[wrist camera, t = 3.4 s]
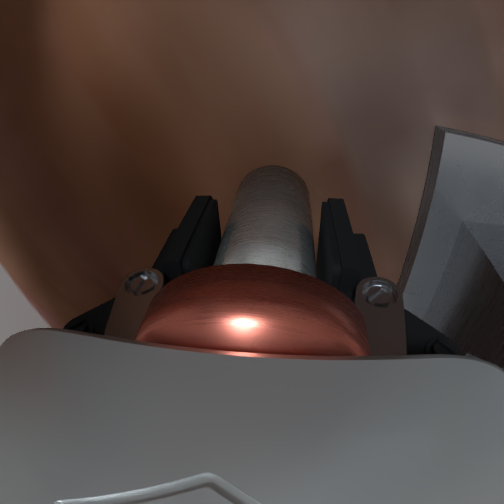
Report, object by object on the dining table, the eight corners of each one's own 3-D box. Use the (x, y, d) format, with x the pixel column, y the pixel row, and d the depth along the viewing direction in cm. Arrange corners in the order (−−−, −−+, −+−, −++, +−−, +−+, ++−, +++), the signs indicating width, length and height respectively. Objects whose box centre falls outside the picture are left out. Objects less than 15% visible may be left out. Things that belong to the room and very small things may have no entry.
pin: (205, 140, 12) (84, 309, 5) (340, 141, 12) (416, 329, 4) (217, 247, 16) (163, 428, 8) (329, 251, 15) (346, 443, 8)
